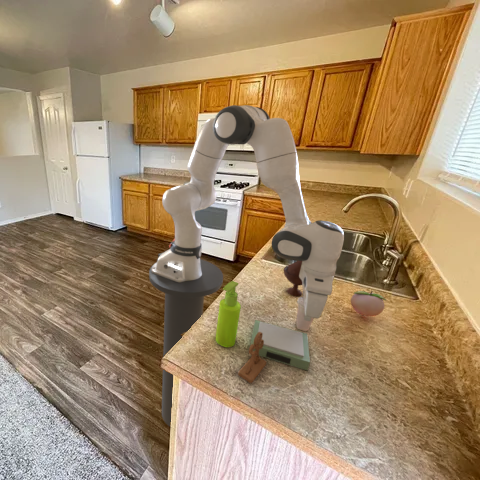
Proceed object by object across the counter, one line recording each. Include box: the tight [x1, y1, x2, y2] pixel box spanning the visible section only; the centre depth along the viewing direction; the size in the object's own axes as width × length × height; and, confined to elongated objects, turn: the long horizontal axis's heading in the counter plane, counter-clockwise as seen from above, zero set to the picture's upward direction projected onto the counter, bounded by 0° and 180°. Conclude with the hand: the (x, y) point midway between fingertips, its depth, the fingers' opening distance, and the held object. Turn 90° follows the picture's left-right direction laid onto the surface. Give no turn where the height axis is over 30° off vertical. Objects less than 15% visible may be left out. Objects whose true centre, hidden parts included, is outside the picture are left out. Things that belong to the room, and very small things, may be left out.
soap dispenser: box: [215, 280, 242, 348], centre depth 76 cm, size 6×7×20 cm
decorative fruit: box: [350, 290, 387, 317], centre depth 91 cm, size 9×8×10 cm
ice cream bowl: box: [283, 261, 303, 297], centre depth 103 cm, size 11×11×15 cm
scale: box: [249, 319, 311, 372], centre depth 77 cm, size 15×12×4 cm
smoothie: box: [295, 296, 315, 332], centre depth 84 cm, size 6×6×14 cm
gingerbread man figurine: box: [237, 332, 267, 384], centre depth 68 cm, size 9×4×12 cm, turn 135°
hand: (306, 312), depth 84 cm, fingers closed on smoothie, 6 cm apart
